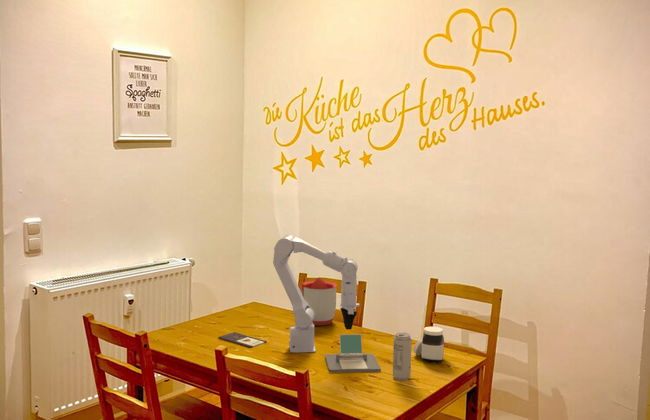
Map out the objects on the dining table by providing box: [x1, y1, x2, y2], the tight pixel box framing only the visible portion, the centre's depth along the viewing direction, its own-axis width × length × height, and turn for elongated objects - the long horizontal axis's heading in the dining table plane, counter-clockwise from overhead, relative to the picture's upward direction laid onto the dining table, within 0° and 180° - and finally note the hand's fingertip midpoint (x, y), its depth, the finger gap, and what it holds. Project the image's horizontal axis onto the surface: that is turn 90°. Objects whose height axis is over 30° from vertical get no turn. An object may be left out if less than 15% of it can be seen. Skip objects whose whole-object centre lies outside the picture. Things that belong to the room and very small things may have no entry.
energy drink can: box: [392, 332, 413, 382], centre depth 222 cm, size 6×6×15 cm
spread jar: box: [412, 326, 445, 364], centre depth 243 cm, size 12×11×12 cm
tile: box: [339, 333, 363, 354], centre depth 239 cm, size 8×7×1 cm
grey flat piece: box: [324, 353, 382, 374], centre depth 236 cm, size 18×16×3 cm
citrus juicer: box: [300, 277, 338, 326], centre depth 286 cm, size 16×17×20 cm
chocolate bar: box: [217, 331, 267, 349], centre depth 261 cm, size 9×1×18 cm
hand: (348, 328), depth 248 cm, fingers open, 2 cm apart
